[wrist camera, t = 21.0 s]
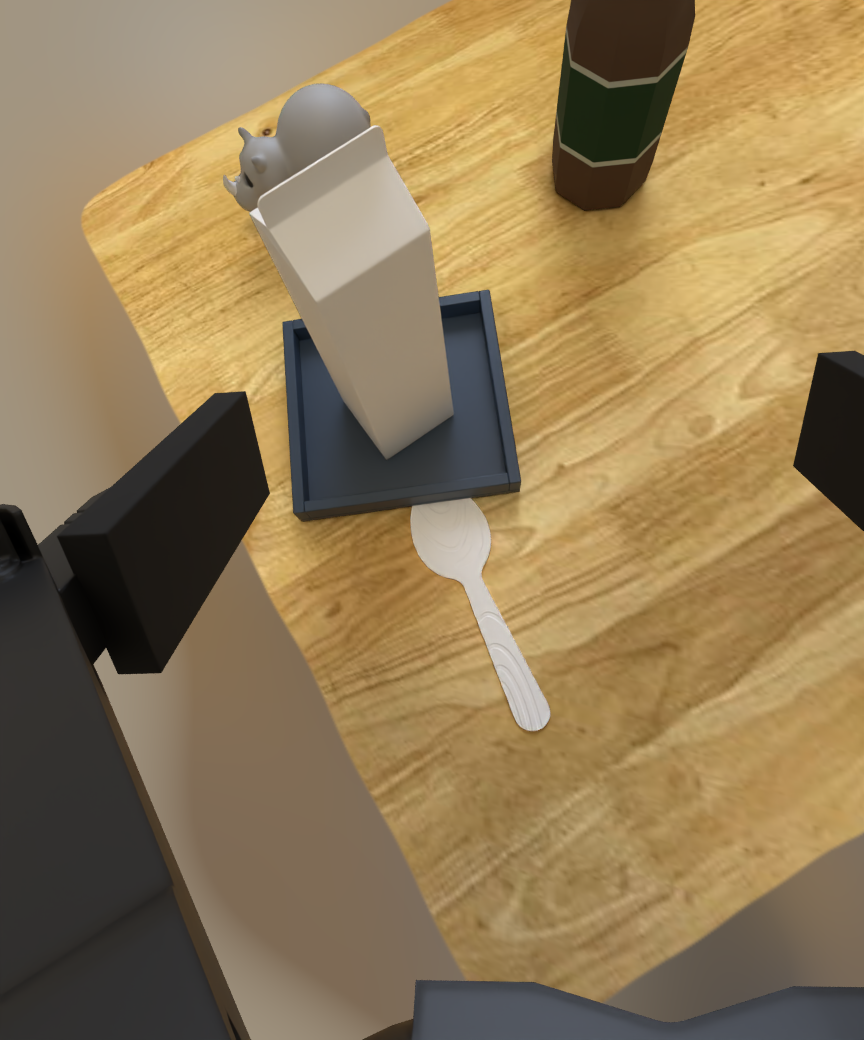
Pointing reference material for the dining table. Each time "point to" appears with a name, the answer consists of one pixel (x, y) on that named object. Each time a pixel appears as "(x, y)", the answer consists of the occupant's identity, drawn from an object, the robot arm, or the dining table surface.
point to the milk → (364, 286)
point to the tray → (424, 463)
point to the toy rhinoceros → (296, 140)
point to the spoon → (478, 595)
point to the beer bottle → (615, 94)
